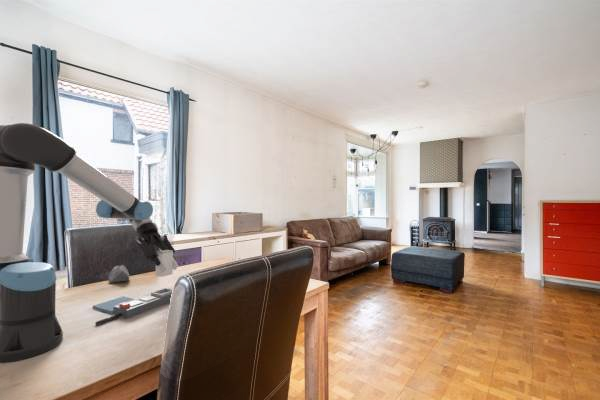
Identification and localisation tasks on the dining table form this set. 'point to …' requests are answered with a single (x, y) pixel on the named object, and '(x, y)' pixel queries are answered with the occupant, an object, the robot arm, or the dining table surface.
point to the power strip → (140, 305)
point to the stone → (118, 274)
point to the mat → (111, 304)
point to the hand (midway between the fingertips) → (170, 269)
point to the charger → (165, 262)
